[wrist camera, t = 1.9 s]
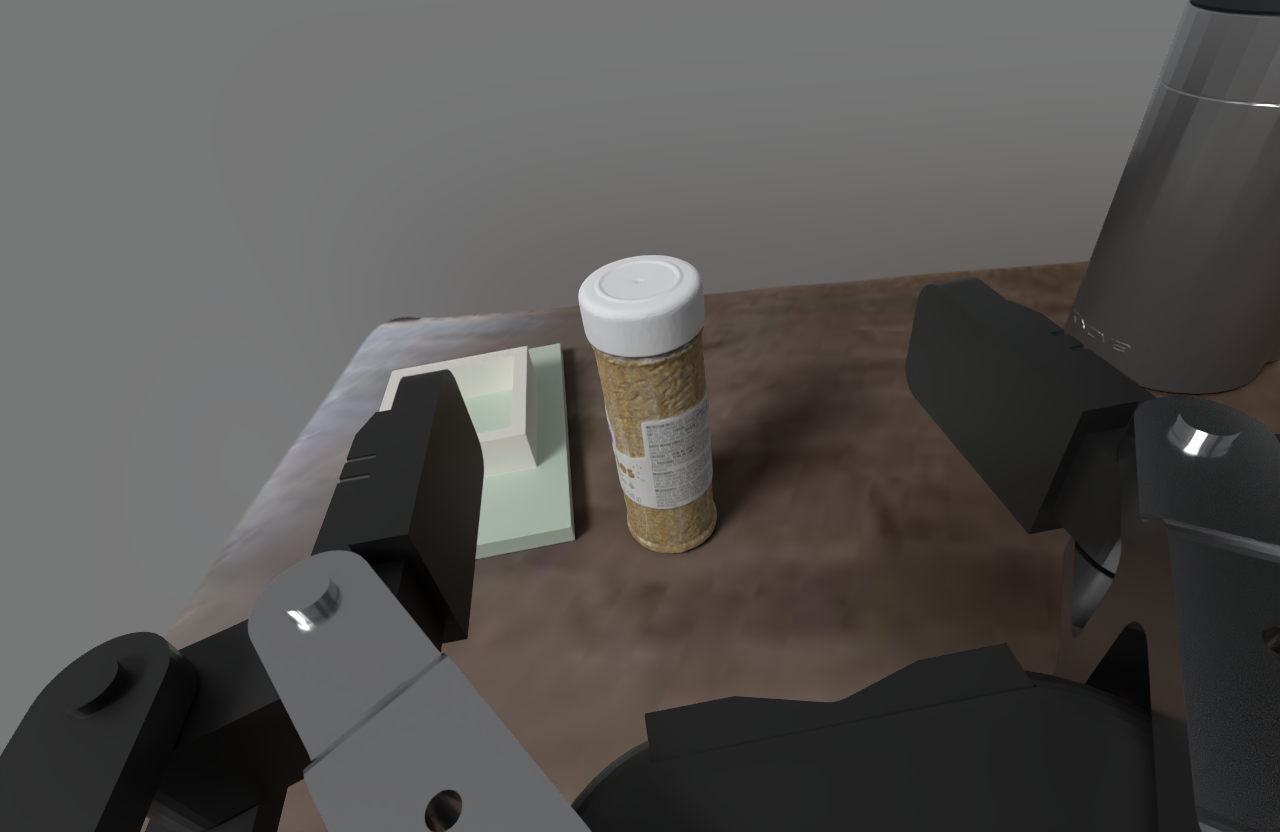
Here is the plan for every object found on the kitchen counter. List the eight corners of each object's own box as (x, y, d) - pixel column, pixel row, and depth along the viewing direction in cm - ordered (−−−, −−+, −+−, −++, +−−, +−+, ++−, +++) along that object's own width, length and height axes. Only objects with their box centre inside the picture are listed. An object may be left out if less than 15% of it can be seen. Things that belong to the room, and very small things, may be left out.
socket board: (563, 354, 43) (552, 312, 41) (575, 540, 30) (560, 492, 28) (397, 385, 43) (377, 344, 41) (336, 585, 30) (302, 541, 27)
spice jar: (618, 503, 31) (564, 268, 23) (699, 477, 32) (677, 240, 24) (643, 571, 28) (591, 324, 19) (734, 541, 29) (722, 290, 20)
